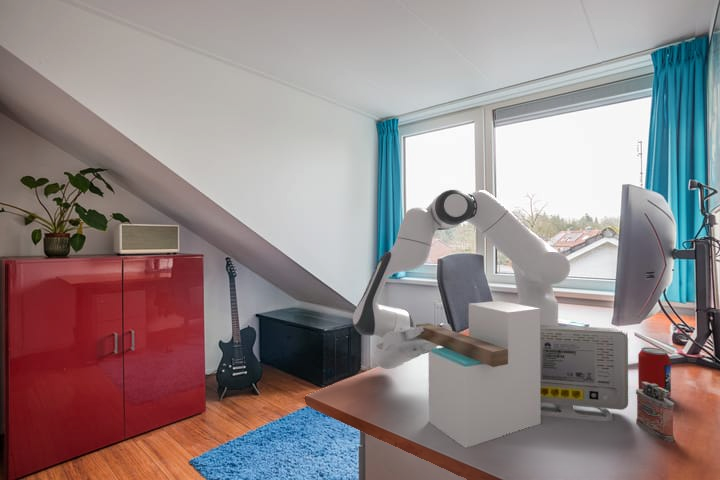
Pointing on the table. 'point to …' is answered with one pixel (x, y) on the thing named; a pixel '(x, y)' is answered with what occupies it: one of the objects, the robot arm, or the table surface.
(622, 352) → the network device
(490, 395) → the stepped stand
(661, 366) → the beverage can
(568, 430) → the table surface
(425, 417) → the table surface
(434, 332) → the walnut block
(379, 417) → the table surface
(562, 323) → the light bulb box
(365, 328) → the robot arm
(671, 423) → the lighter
